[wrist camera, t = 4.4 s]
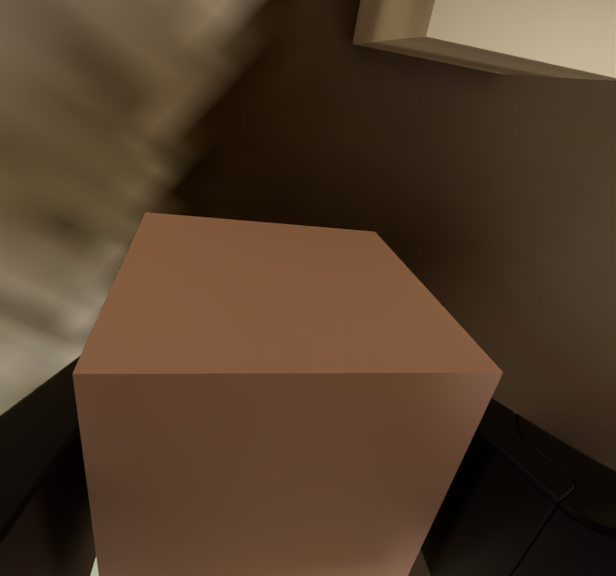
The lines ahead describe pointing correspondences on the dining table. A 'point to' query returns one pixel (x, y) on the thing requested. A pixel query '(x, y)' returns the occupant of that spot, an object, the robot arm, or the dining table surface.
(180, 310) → the terracotta block
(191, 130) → the dining table surface
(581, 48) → the birch block
